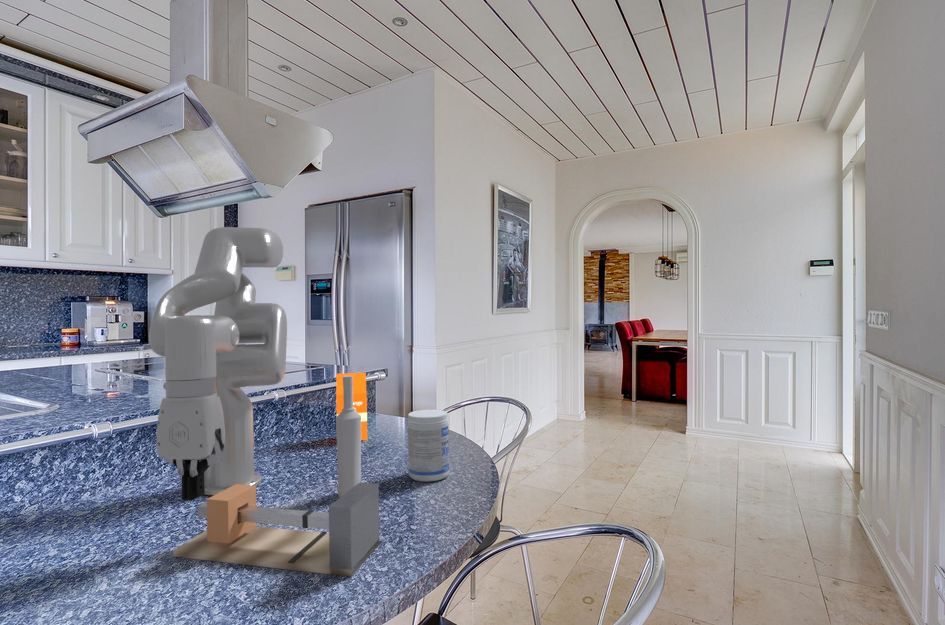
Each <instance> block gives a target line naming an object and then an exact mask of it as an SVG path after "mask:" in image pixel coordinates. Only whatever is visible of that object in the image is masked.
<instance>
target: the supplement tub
mask: <svg viewBox="0 0 945 625" xmlns="http://www.w3.org/2000/svg"><path fill="white" fill-rule="evenodd" d="M449 428H450V427H449V418H448V412H447V411H445V410H443V409H420V410H414V411H411V412H408V414H407V450H408V451H407V452H408V454H407V455H408V457H407V458H408V461H407V462H408V475H409V477H410V478H411V479H413V480H414V481H417V482H422V483H423V482H426V483H427V482H429V483H430V482H437V481H440V480H443V479H445V478H447V477H448V476H449V474H450V443H449V442H450V441H449V440H450V439H449V438H450V436H449V431H450V430H449Z"/></svg>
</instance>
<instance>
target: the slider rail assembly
mask: <svg viewBox="0 0 945 625" xmlns="http://www.w3.org/2000/svg"><path fill="white" fill-rule="evenodd" d="M379 486H380V485H379V483H370V482H361V483H358V484H357V485H355V486H354V487H353V488H352V489H350V490H349V491H348V492H347V493H345V494H344V495H343V496H342V497H338V499H336V501H334V502H333V503H331V504H329V506H328V512H326V511H324V512H323V511H315V510H311V509H309V510H303V509H301V510H299V509H290V508H289V509H288V508H276V507H267V506H266V507H265V506H264V507H263V506H257V507H255V506H241V507H240V508H238V509H237V511H238V521H243V522H254V523H257V524H268V525H276V526H278V525H279V526H287V527H300V528H302V529H308V528H310V529H320V530H321V529H322V530H328V533H329V554H330V569H331V568H332V569H333V568H334V569H336V568H338V569H347V570H348V572H349V573H348V574H347V576H346V575H345V576H344V575H339V576H340V577H341V576H342V577H349V576H350V575H349V574H350V572H352V577H353V576H354V575H353V574H356V573H357V572H358V570H359V569H360V566H363V564H364V563H365V562H366V561H367V559H369V557H370V556H371V555H372V554H373V552H375V550H376V549H377V548H378V547H379V546H380V544H379V543H380V540H381V539H379V538H380V501H379V500H380V490H379ZM197 518H199V519H201V518H202V519H207V501H206V502H204V503H201V504H200V505H197ZM377 540H378V541H377ZM376 543H378V544H376ZM372 546H373V549H372V548H371V547H372ZM376 547H377V548H376ZM370 548H371V550H373V551H371V550H370ZM368 551H369V552H368ZM367 552H368V553H369V554H368V553H367ZM371 552H372V553H371ZM370 554H371V555H370ZM365 555H368V556H367V557H366V556H365ZM369 555H370V556H369ZM365 558H367V559H365ZM364 559H365V560H364ZM362 561H364V562H362ZM361 563H362V564H361ZM356 566H357V567H356ZM353 568H354V569H355V570H354V569H353ZM350 570H352V571H350ZM353 570H354V571H355V572H354V571H353ZM333 571H334V570H333ZM333 571H332V570H331V574H330V575H332V573H333ZM334 572H335V575H334V574H333V576H337V575H336V574H337V573H336V572H338V571H336V570H335V571H334ZM340 572H341V571H340ZM343 572H344V570H343ZM345 573H346V572H345ZM341 574H342V573H341ZM343 574H344V573H343ZM349 578H351V576H350V577H349Z"/></svg>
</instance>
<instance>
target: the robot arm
mask: <svg viewBox="0 0 945 625" xmlns="http://www.w3.org/2000/svg"><path fill="white" fill-rule="evenodd" d="M283 257H284V247H283V243H282V240H281V238H280V236H279V235H278V234H277V233H275V232H274V231H272V230H270V229H267V228H266V229H265V228H261V227H237V226H236V227H234V226H233V227H232V226H231V227H230V226H221V227H216V228H212V229H211V230H210V231H208V232H207V233H206V234H205V236H204V238H203V242H202V246H201V248H200V252H199V256H198V259H197V264H196V266H195V268H194V273H193V274H191V275H190V276H187V277H186V278H184V279H182V280H181V281H179V282H178V283H177V284H175V285H174V286H173V287H171V288H170V289H169V290H167V291H166V292H165V293H164V294H163V295H162V296H161V297H160V299H159V300H158V302H157V305H156V307H155V310H154V313H153V315H152V319H151V321H150V326H149V330H148V344H149V346H150V347H149V348H150V349H151V351H152V352H153V353H154V354H156V355H158V356H160V357H164V358H165V361H164V364H165V367H164V368H165V372H164V374H165V382H164V383H163V385H162V388H163V389H164V390H165V397H162V399H161V402H160V407H159V410H158V417H157V426H156V427H157V428H156V454H157V455H158V457H159V458H162V459H163V461H164V462H167V463H169V464H172V465H174V467H175V468H176V469H177V471H176V472H177V474H178V476H180V477H181V499H182V501H193V500H195V499H198V498H200V497H202V496H203V495H205V496H206V495H207V496H214V495H216V494H218V493H220V492H222V491H224V490H225V489H227V488H229V487H231V486H233V485H235V484H242V485H255V486H256V487H258V485H260V484H261V483H262V481H263V478H262V474H261V473H259V472H256V471H255V448H254V446H255V442H254V406H253V404H252V401H251V399H250V398H249V396H248V395H247V394H246V393H245V392H244V391H243V390H242V388H246V387H261V386H262V387H263V386H264V387H265V386H274V385H277V384H279V383H281V382H282V381H283V379H284V377H285V373H286V368H287V367H286V365H287V341H288V337H287V336H288V320H287V314H286V311H285V309H284V308H283V306H281V305H280V304H277V303H272V302H271V303H270V302H256V296H257V290H256V286H255V285H254V284H253V282H252V281H251V280H250V278H248V277H247V276H246V275H245V274H244V273H242V271H243V268H265V269H266V268H267V269H268V268H271V269H272V268H276V267H279V265H281V262H282V261H283ZM214 303H215V306H214V313H213V314H214V315H212V314H211V315H209V314H208V315H204V314H203V315H202V314H201V315H200V314H199V315H197V314H196V315H195V314H194V315H191V314H190V315H186V314H188V313H190V312H191V311H194V310H195V309H196V310H197V309H200V308H201V307H205V306H207V305H212V304H214Z"/></svg>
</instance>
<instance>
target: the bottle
mask: <svg viewBox="0 0 945 625" xmlns="http://www.w3.org/2000/svg"><path fill="white" fill-rule="evenodd" d="M343 405H344V407H343V409H342V412H341V413H340V414H339V415H338V416H337V415H336V417H335V428H336V452H337V454H336V456H337V457H336V458H337V477H338V478H337V481H338V484H337V485H338V486H337V487H336V490H337V495H338V498H340V497H342V496H343V495H344V494H345V493H347V492H348V491H349V490H350V489H352V488H353V487H354V486H355V485H357V484H358V483H362V442H361V415H360V414H359V413H357V412H356V411H355V408H354V407H353V376H343Z"/></svg>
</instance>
